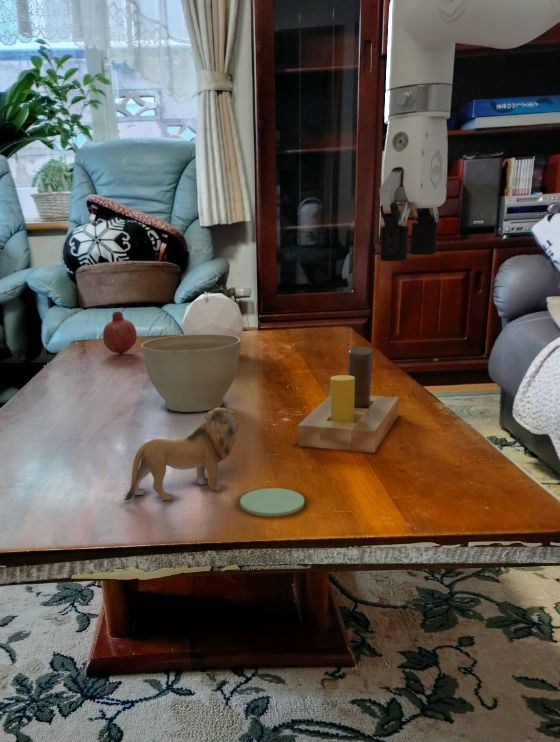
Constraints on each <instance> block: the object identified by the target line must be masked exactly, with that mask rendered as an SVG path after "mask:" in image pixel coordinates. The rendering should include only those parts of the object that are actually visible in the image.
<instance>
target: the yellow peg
mask: <svg viewBox="0 0 560 742" xmlns="http://www.w3.org/2000/svg"><path fill="white" fill-rule="evenodd" d="M329 391H330V392H329V393H330V395H329V396H330V421H338V422H352V423H354V395H355V377H354V376H350V375H348V374H338V375H333V376H331V377H330V390H329Z"/></svg>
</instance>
